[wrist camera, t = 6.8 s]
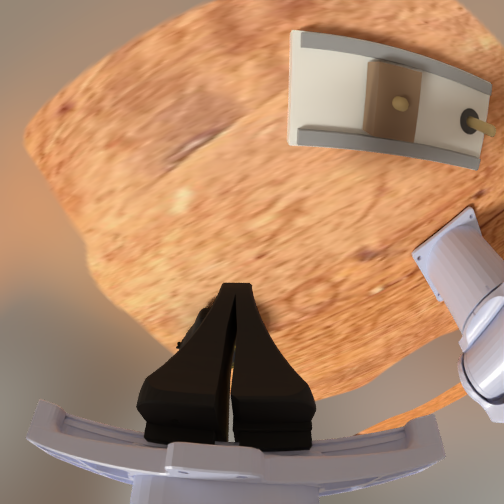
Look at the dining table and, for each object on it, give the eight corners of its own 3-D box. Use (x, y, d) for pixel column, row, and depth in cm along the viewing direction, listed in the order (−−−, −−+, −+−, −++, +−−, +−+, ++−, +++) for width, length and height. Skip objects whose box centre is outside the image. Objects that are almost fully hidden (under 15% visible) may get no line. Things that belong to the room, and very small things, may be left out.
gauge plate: (480, 80, 15) (514, 89, 11) (466, 164, 20) (496, 184, 16) (290, 33, 15) (299, 22, 12) (286, 140, 20) (294, 157, 16)
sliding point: (407, 71, 14) (426, 73, 12) (400, 135, 17) (417, 145, 15) (367, 61, 14) (382, 61, 12) (362, 129, 17) (375, 138, 15)
